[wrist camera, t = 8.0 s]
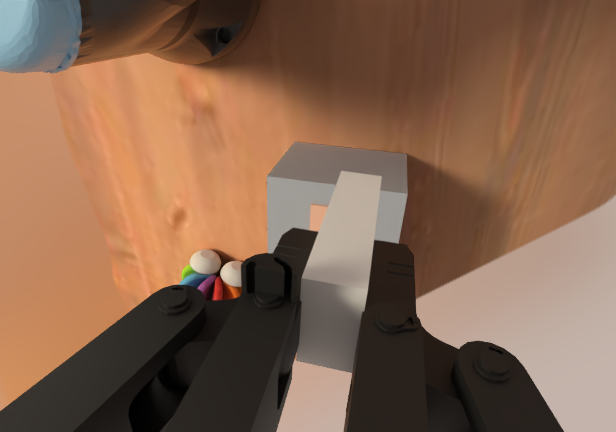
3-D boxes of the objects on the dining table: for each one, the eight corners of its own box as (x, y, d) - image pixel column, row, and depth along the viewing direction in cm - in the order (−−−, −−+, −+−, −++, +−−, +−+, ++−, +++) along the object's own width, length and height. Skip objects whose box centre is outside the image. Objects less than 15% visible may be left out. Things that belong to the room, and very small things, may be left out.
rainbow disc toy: (248, 308, 56) (228, 346, 49) (186, 283, 56) (159, 317, 50) (262, 264, 51) (242, 300, 45) (195, 238, 52) (167, 269, 45)
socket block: (291, 261, 50) (267, 315, 41) (294, 141, 42) (265, 177, 33) (385, 276, 48) (381, 337, 39) (406, 153, 40) (407, 195, 31)
